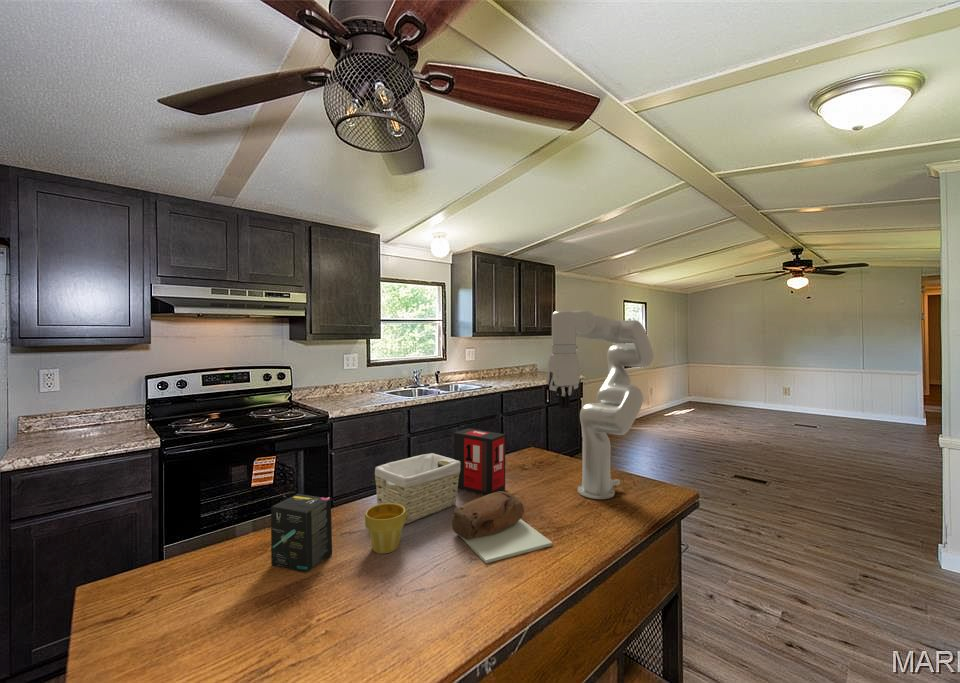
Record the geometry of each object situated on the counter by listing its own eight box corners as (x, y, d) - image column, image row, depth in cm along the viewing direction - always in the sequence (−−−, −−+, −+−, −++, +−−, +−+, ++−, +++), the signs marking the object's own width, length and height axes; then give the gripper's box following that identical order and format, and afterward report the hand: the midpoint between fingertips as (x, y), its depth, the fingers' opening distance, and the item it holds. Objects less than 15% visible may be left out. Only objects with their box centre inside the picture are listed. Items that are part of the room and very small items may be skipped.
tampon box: (333, 554, 109) (332, 497, 109) (307, 574, 100) (306, 512, 100) (298, 547, 112) (297, 492, 112) (270, 565, 104) (269, 505, 103)
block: (499, 510, 134) (449, 532, 120) (499, 487, 133) (449, 506, 120) (525, 523, 126) (475, 547, 112) (526, 498, 125) (475, 519, 112)
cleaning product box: (505, 489, 154) (505, 434, 154) (491, 497, 147) (491, 439, 146) (468, 480, 163) (468, 428, 163) (453, 487, 156) (453, 432, 156)
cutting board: (518, 520, 129) (518, 517, 129) (552, 545, 114) (552, 542, 114) (457, 533, 120) (457, 531, 120) (485, 563, 105) (485, 560, 105)
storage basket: (430, 492, 151) (430, 450, 151) (463, 505, 140) (463, 460, 140) (372, 513, 134) (372, 466, 134) (404, 529, 123) (404, 478, 123)
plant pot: (380, 562, 105) (380, 523, 105) (357, 548, 112) (357, 511, 112) (413, 547, 113) (413, 510, 113) (390, 534, 120) (390, 499, 120)
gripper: (574, 348, 142) (574, 403, 143) (537, 350, 135) (537, 408, 136) (590, 349, 135) (590, 407, 136) (551, 351, 129) (552, 412, 129)
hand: (564, 407), depth 136 cm, fingers closed
